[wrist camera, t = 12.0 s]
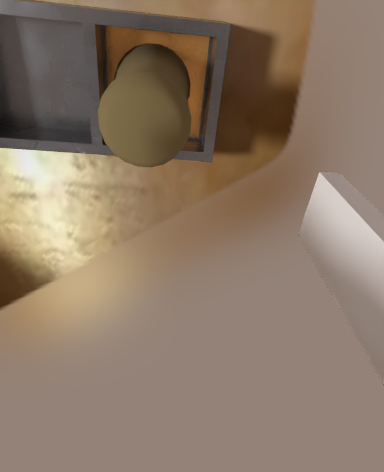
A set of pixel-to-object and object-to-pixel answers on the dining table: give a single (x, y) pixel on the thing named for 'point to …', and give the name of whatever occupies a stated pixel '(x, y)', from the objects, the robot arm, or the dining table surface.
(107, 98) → the olive pawn-shaped piece
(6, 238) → the dining table surface
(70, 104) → the rack
